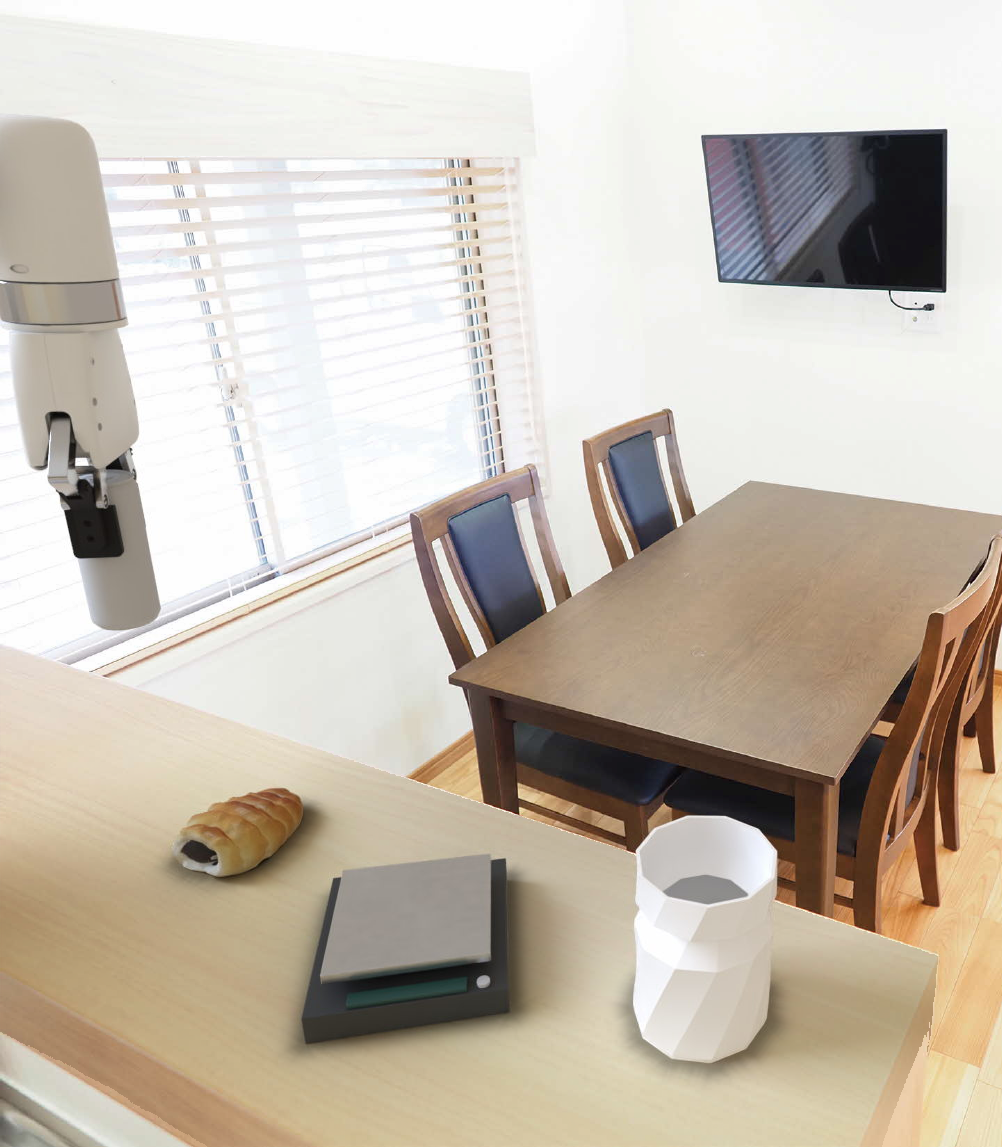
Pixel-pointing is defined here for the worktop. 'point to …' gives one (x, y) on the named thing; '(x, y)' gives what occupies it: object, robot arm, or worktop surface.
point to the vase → (703, 936)
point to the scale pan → (410, 919)
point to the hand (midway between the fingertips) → (111, 541)
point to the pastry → (238, 832)
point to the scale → (411, 985)
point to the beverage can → (122, 565)
